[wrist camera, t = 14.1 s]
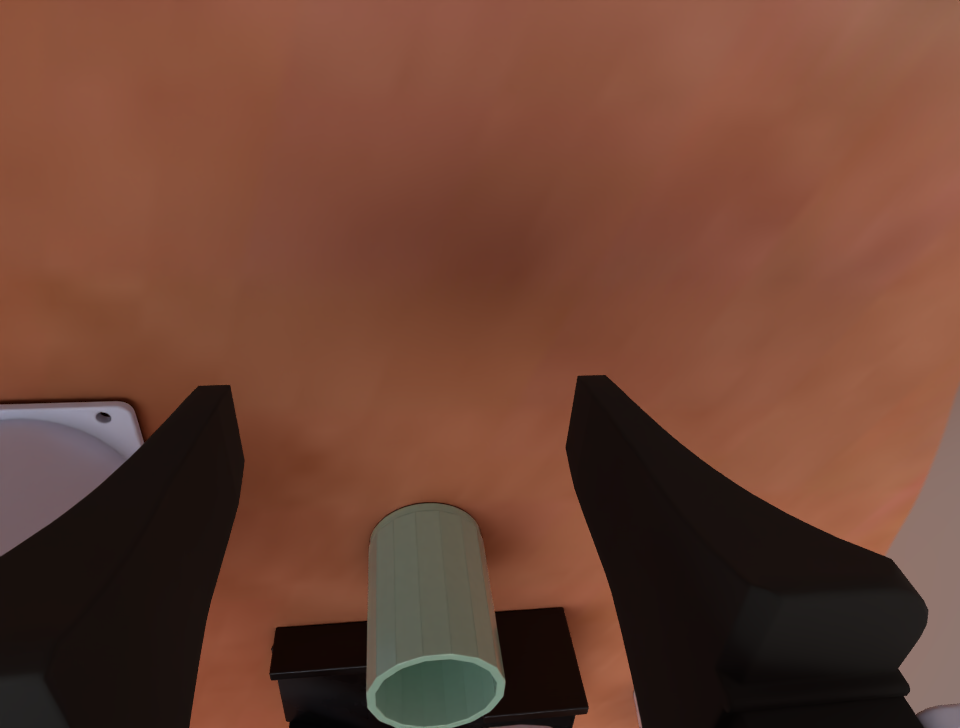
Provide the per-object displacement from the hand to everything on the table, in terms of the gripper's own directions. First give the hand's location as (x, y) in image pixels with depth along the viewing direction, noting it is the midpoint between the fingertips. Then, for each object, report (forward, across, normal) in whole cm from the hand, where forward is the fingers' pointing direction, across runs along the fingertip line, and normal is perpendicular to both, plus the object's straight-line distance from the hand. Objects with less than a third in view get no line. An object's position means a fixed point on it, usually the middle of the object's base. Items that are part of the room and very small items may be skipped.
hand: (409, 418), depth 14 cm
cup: (+10, -1, +16) cm, 19 cm away
